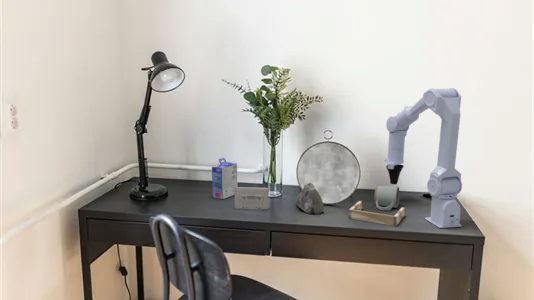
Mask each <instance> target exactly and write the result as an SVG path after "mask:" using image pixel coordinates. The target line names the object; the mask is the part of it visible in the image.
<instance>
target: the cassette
mask: <svg viewBox="0 0 534 300" xmlns="http://www.w3.org/2000/svg"><path fill="white" fill-rule="evenodd" d="M269 192H270V191H269V188H268V187H244V186H243V187H242V186H240V187H239V186H238V187H236V188H235V195H234V209H235V210H237V209H238V210H269ZM249 197H255V198H249ZM258 197H259V198H258Z"/></svg>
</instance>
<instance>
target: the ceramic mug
mask: <svg viewBox="0 0 534 300" xmlns="http://www.w3.org/2000/svg"><path fill="white" fill-rule="evenodd" d="M373 199H374V203H375V206H376V209H378V210H380V211H382V212H385V211H390V210H391V209H392V208H395V209H396V208H398V207H399V203H400V187H399V186H397V185H378V186H376V187H375V189H374V198H373Z"/></svg>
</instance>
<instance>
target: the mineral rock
mask: <svg viewBox="0 0 534 300" xmlns="http://www.w3.org/2000/svg"><path fill="white" fill-rule="evenodd" d="M295 203H296V205H297V207H298V208H300V209H301V210H302V211H303V212H305V213H306V214H309V215H310V214H311V215H312V214H314V215H315V214H316V215H319V214H321V213H323V212H324V211H325V208H324V202H323V199H322V197H321V195H320V192H318V190H317V189H316V187H315V185H314V184H313V183H312V182H309V183H306V184H304V186H303V188H302V190H300V192H299V193H298V194H297V195H296V199H295Z"/></svg>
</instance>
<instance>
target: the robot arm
mask: <svg viewBox="0 0 534 300" xmlns="http://www.w3.org/2000/svg"><path fill="white" fill-rule="evenodd" d="M461 103H462V95H461V94H460V93H459V91H458V90H457V89H456V88H453V87H451V88H450V87H449V88H429V89H427V90H426V91H424V92H423V95H422V97H421V98H419V100H418V101H417V102H416V103H415V104H414V105H413V106H410V105H406V106H405V107H404V108H403V110H401V111H400V112H397V114H396V115H395V116H389V117H388V118H387V121H386V124H385V125H386V130H387V131H388V133H389V134H388V149H387V158H384V159H383V160H384V162H386V163H387V165H386V170H387V172H388V176H389V183H390V185H394V186H397V184H398V182H399V179H400V178H399V177H400V175H401V172H402V170H403V168H404V163H405V162H404V161H405V160H404V154H405V141H406V140H405V139H406V136H407V133H408V130H409V129H410V126H411V125H413V124H414V123H415V122H416V121H418V120H419V118H420V114H422V113H424V112H425V111H426V110H428V109H429V110H431V111H432V113H434V114H435V115H438V116H439V118H440V119H441V122H440V123H441V124H440V132H439V141H438V142H439V143H438V153H437V162H436V163H437V164H436V167H434V169H433V170H432V171H430V174H429V179H428V180H427V185H426V188H427V192H428V193H429V194H430V195H429V196H431V206H430V216H429V217H427V216H426V217H425V218H424V220H426V221H427V222H429V223H431V224H432V225H434V226H435V227H438V228H440V229H444V228H460V227H462V225H463V224H461V223H460V221H461V211H462V209H461V205H460V204H459V203H458V202H457V200H456V198H458V195H459V194H460V193H461V191H462V190H463V189H462V188H463V182H462V173H461V172H460V171H459V170H457V169H456V159H457V149H458V140H459V133H460V131H459V130H460V123H461Z"/></svg>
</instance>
